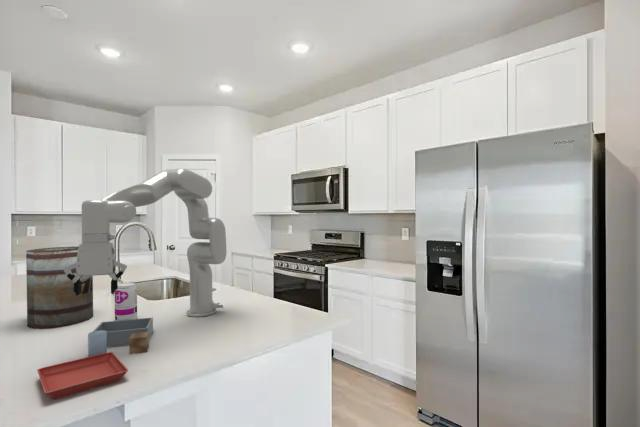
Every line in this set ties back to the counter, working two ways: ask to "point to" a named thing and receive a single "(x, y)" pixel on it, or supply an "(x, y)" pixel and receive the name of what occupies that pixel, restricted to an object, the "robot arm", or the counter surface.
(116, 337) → the tote
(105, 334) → the blue cylinder
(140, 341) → the walnut cube
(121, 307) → the supplement can
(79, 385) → the plant saucer
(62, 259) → the barrel
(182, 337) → the counter surface
